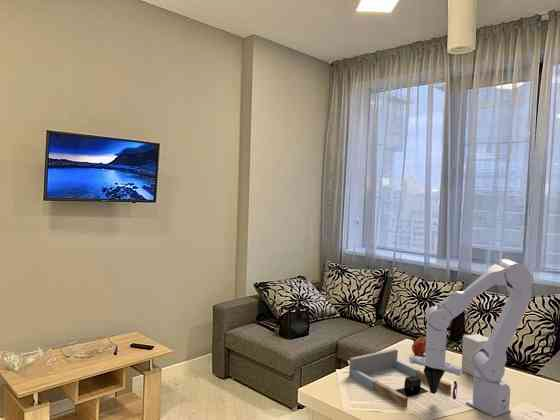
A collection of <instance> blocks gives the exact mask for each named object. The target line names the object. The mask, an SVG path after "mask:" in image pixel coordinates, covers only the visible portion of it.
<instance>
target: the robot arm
mask: <svg viewBox="0 0 560 420" xmlns="http://www.w3.org/2000/svg"><path fill="white" fill-rule="evenodd" d="M531 273H532V272H531V271H530V270H529V268H528V267H527V266H526V265H524V264H523V263H519V262H516V261H513V259H512V260H511V259H509V258H504V259H500V260H499V261H497V262H496V263H494V264H493V265H491V266H490V267H489V268H488V269H487V270H486V271H485V272H484V273H482V275H480V276H479V277H478V278H476V280H474V281H473V282H471V284H470V285H469V286H468V285H467V287H466V288H465V289H463V290H460V291H459V290H455V291H454V292H453V291H450V292H449V293H448V296H447V297H446V298H444V299H443V300H441V302H437V303H435V305H436V306H435V305H434V306H430V307H429V308H428V309H427V310H426V312H425V314H424V317H425V320H426V322H427V324H426V331H425V332H426V333H425V334H426V335H425V338H426V350H425V353H424V356H422V357H419V356H416V355H415V354H414V355H413V354H412V355H411V356H410V357H409V363H410V364H416V365H419V366H424V369H423V372H424V374H425V376H426V378H427V381H428V383H427V384H428V389H429V393H430V394H433V395H435V394H436V393H437V392H438V384H439V382H440V380H442V378H443V375H444V374H445V373H449V374H453V375H455V376H457V377H460V375H461V372H462V370H461V369H462V366H457V365H454V364H452V363H449V362H446V353H447V352H446V351H447V338H448V336H447V330H448V329H447V328H449V326H450V325H451V321H452V320H453V319H455V318H456V317H458V316H459V315H461V313H463V312H465V311H466V310H467V309H468V308H470V306H471V301H472V300H473V299H475V298H476V297H478V296H480V295H481V294H483V293H484V292H486V291H487V290H488V289H490V288H492V287H493V286H505V287H506V289H507V291H508V293H509V295H508V297H507V300H506V301H505V304H504V305H503V308H502V310H501V312H500V314H499V317H498V318H497V320H496V322H495V325H494V327H493V328H492V331H491V332H490V334H489V337H488V338H489V339H488V341H487V342H485V343H483V344H482V345H481V347H480V349H479V350H477V351H476V352H475V353H474V354H473V357H472V361H473V364H474V366H475V367H476V369H475V371H474V376H473V382H472V383H473V385H472V399H469V400H465V403H466V404H467V405H469V406H471V407H473V408H475V409H477V410H480V411H481V412H483V413H486V414H488V415H489V416H491V417H494V418H495V417H498V416H501V415H503V414H506V413H509V412H510V411H511V408H510V400H511V388H510V386H509V385H508V384H507V383H505V382H504V381H503V380H502V378H503V377H504V375H505V367H506V363H507V360H508V359H507V349H508V347H509V345H510V344H511V341H512V339H513V337H514V335H515V333H516V330H517V329H518V326H519V325H520V323H521V321H522V319H523V316H524V314H525V313H526V310H527V308H528V306H529V304H530V303H531V299H532V298H533V292H532V291H533V290H532V280H533V276H532V274H531Z"/></svg>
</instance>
